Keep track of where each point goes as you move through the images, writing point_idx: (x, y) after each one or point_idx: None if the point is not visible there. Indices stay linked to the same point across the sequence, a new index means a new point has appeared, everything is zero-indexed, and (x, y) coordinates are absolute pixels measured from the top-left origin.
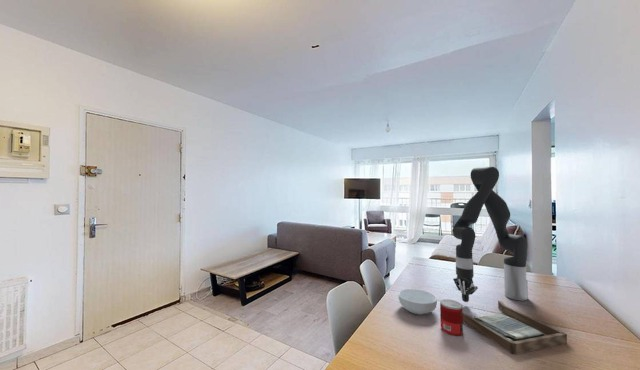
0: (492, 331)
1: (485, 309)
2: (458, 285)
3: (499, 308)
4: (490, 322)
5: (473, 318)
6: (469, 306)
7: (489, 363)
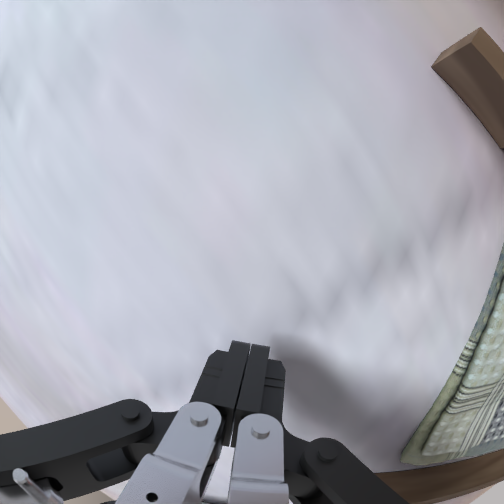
0: (501, 480)
1: (404, 225)
2: (106, 482)
3: (457, 87)
4: (493, 416)
5: (437, 498)
6: (285, 316)
7: (481, 494)
